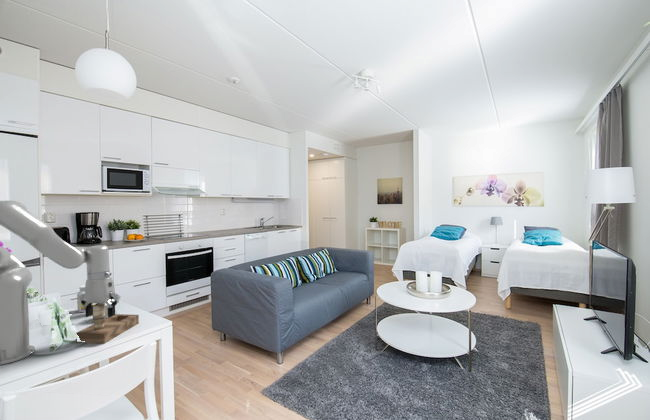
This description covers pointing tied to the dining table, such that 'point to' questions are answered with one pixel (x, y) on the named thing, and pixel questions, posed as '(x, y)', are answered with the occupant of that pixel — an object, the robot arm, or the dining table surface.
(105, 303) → the skincare box
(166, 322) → the dining table surface
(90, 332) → the walnut board
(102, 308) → the beech peg
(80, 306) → the supplement bottle
